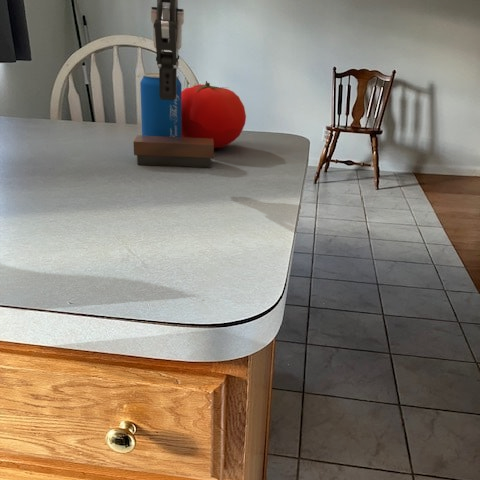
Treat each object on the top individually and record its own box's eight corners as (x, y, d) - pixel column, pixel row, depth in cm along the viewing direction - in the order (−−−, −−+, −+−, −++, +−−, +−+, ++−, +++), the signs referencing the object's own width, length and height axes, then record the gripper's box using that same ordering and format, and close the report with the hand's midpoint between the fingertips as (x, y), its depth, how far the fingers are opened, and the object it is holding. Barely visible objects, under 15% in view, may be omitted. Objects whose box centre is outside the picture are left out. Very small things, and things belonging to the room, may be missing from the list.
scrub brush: (134, 165, 82) (133, 141, 81) (137, 157, 87) (137, 135, 85) (213, 168, 83) (213, 144, 82) (212, 160, 88) (213, 138, 86)
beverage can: (159, 158, 87) (158, 77, 81) (134, 151, 91) (131, 73, 85) (189, 153, 91) (189, 76, 85) (164, 147, 95) (163, 72, 89)
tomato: (168, 139, 101) (168, 77, 96) (232, 139, 104) (235, 79, 99) (182, 155, 90) (182, 86, 84) (253, 155, 93) (257, 88, 88)
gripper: (141, -53, 70) (144, 91, 78) (129, -67, 59) (134, 104, 67) (199, -48, 71) (196, 95, 79) (199, -61, 59) (195, 108, 68)
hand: (168, 99), depth 73 cm, fingers closed
